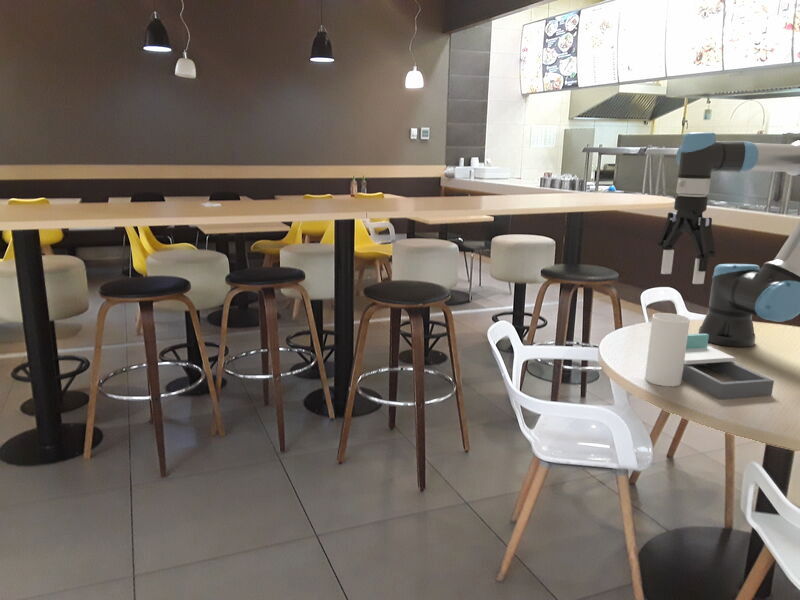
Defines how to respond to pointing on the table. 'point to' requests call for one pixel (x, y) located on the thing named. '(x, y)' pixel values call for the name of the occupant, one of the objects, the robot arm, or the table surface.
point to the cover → (703, 351)
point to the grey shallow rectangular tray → (744, 385)
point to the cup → (667, 349)
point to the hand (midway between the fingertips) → (681, 278)
